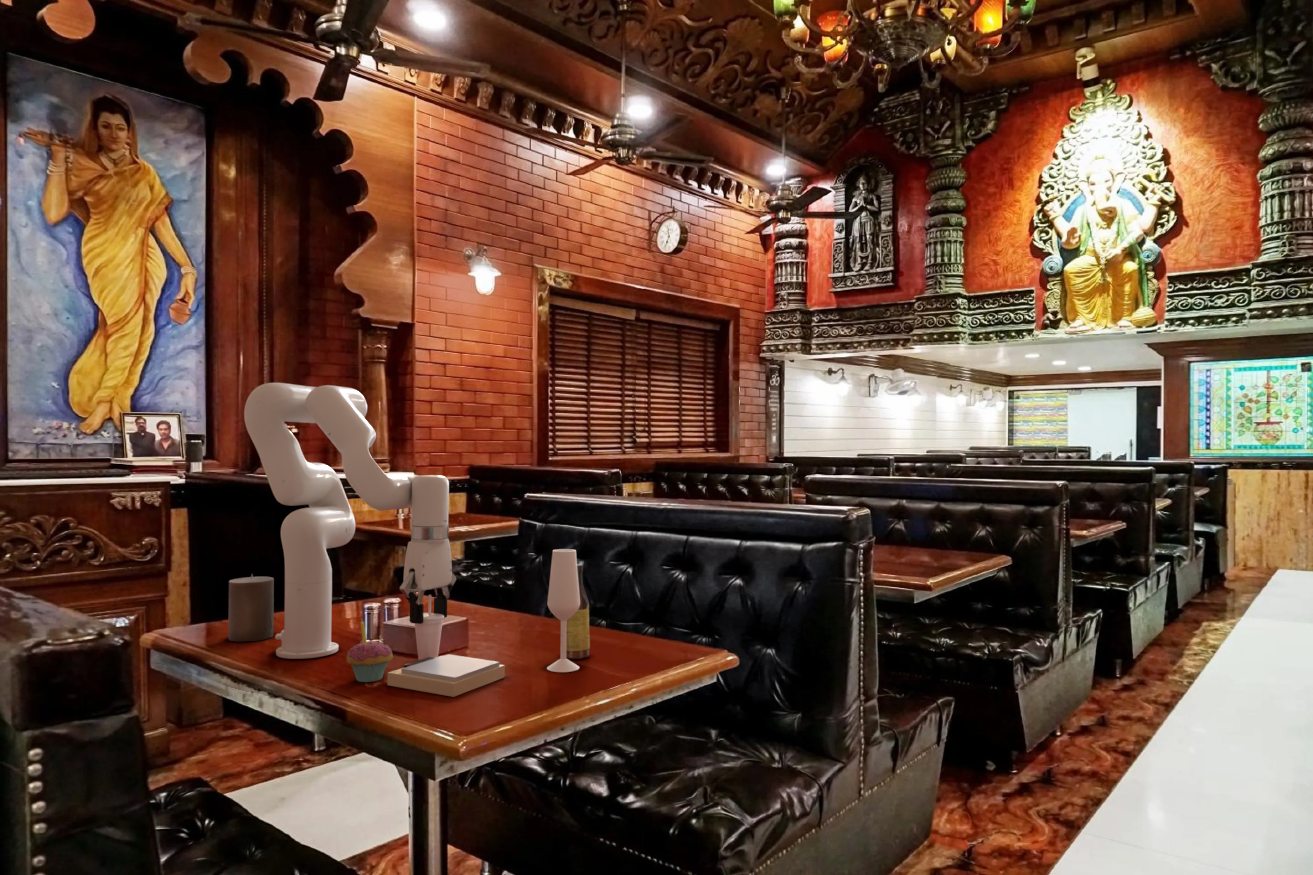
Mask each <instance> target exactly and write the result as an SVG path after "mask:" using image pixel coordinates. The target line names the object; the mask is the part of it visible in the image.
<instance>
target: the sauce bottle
mask: <svg viewBox="0 0 1313 875" xmlns="http://www.w3.org/2000/svg"><path fill="white" fill-rule="evenodd" d="M577 571H578V583H579V595H580V606H579V608H578V610H577V611H576V613H575V614H574V615H573V616H572V617H571V618H569V619H568V620H567V623H566V659H568V660H581V659H586V658H588V657H589V656H590V648H591V638H590V637H591V636H590V634H591V633H590V600H589V598H588V595H587V593H586V589H585V586H584V583H583V582H584V581H583V572H584V565H583V564H582V563H577ZM559 621H560V622H559V623H560V624H559V625H561V620H559Z"/></svg>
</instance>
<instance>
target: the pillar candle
mask: <svg viewBox="0 0 1313 875" xmlns="http://www.w3.org/2000/svg"><path fill="white" fill-rule="evenodd" d="M274 593H275V578H274V577H271V576H254V574H253V573H251V576H249V577H248V576H247V577H238V578H233V579H229V581H228V619H227V620H228V624H227V625H228V626H227V627H228V631H227V633H228V634H227V635H228V636H227V638H228V640H229V641H231V642H237V643H240V642H257V641H263V640H267V639H270V638H273V636H274V634H275V633H274V632H275V631H274V629H275V628H274V625H275V624H274V622H275V620H274V619H275V618H274V616H275V606H274V602H275V599H274V597H275V596H274Z"/></svg>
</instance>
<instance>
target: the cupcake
mask: <svg viewBox="0 0 1313 875" xmlns="http://www.w3.org/2000/svg"><path fill="white" fill-rule="evenodd" d="M365 627H366V626H365V622H364V621H363V618H361V617H360V631H361V639H362V642H360V643H358V644H355V645H353V646H352V647H351V648H349V650H348V651H347V653H346V663H347V664H348V665H351V668H352V670H353V673H354V676H355V679H356V681H357V682H360V683H372V682H377V681H380V680H382V679H383V676H384V674H385V670H386V668H387V665H388V663H389V662H391V661H393V660H394V659H393V658H394V656H393V650H392V648H391V647H390V646H389V645H388V644H386V643H384V642H381V641H379V640H378V641H377V640H376V641H374V640H372V641H371V640H369V641H367V636H366V628H365Z"/></svg>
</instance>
